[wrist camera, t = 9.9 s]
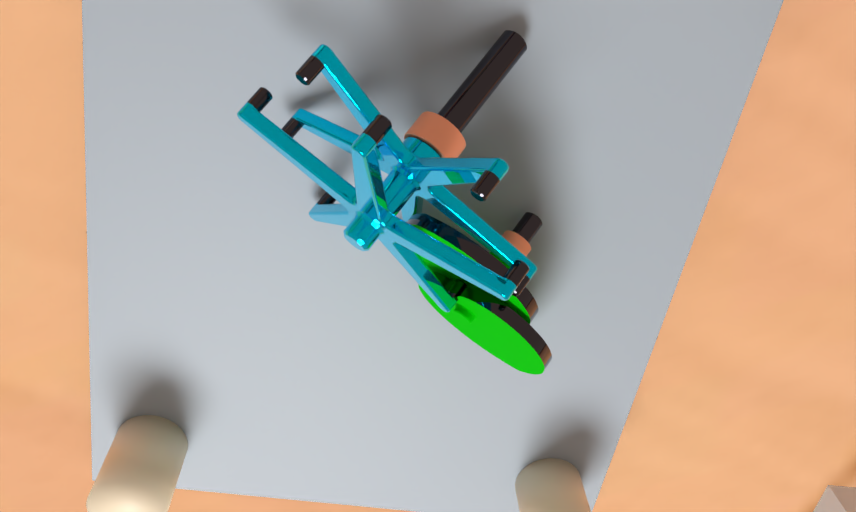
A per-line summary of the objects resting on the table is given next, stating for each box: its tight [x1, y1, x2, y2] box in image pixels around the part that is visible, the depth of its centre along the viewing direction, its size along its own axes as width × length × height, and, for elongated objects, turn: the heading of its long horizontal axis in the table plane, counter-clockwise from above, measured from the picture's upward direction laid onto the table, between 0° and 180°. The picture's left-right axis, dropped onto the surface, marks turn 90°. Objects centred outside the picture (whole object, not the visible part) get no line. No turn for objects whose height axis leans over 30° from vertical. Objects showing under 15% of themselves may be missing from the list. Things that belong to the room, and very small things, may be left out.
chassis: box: [82, 0, 783, 512], centre depth 22 cm, size 18×25×4 cm
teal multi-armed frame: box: [237, 30, 552, 374], centre depth 21 cm, size 12×7×8 cm
